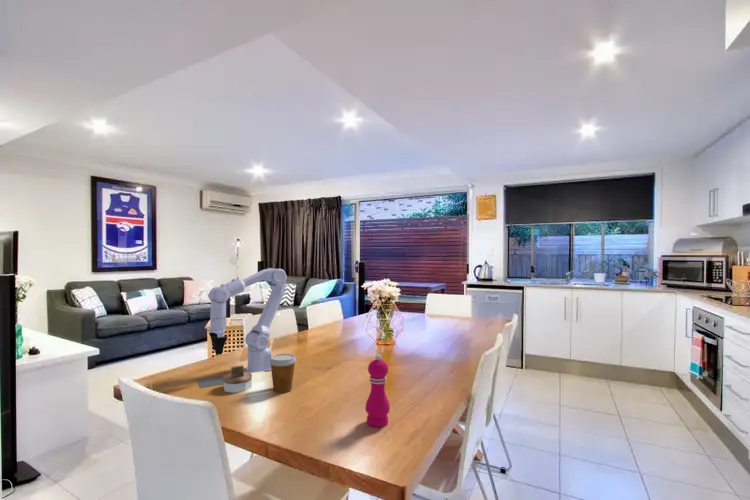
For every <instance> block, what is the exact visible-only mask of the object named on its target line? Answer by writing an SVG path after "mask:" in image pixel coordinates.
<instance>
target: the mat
mask: <svg viewBox="0 0 750 500" xmlns="http://www.w3.org/2000/svg"><path fill="white" fill-rule="evenodd" d="M223 376H224V375H220V376H213V377H207V378H201V379H197V383H198V387H199V389H203V388H211V387H215V386H222V385H223V386H224V382H223Z"/></svg>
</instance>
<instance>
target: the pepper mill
mask: <svg viewBox="0 0 750 500" xmlns="http://www.w3.org/2000/svg"><path fill="white" fill-rule="evenodd" d="M367 372H368V374H369V375H370V376H369V382H370V385H371V386H370V387H371V388H370V392H369V396H367V400H366V403H365V412H366V414H367V415H366V423H367V425H368V426H370V427H372V428H382V427H385V426H387V425H388V424H389V416H388V414H389V413H390V410H391V408H390V401H389V398H388V396H387V395H386V390H385V389H386V388H385V385H386V383H387V376H386V375H387V374H388V373H389V366H388V363H387V362H386V361H385V360H382V356H381V354H376V355H375V359H373V360H372V361H370V362H369V364H368V366H367Z"/></svg>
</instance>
